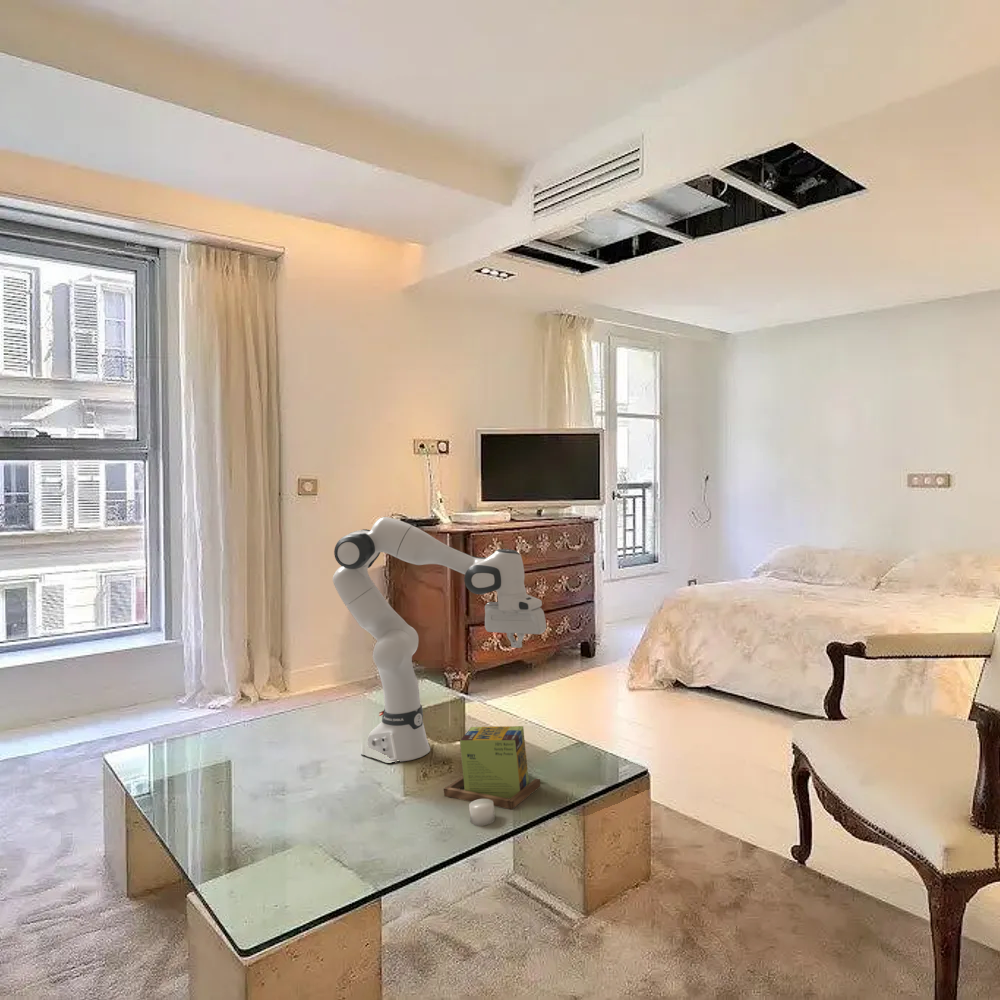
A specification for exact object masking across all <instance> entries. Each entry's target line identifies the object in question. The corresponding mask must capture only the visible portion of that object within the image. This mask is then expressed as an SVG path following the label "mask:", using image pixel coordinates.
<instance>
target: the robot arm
mask: <svg viewBox="0 0 1000 1000" xmlns="http://www.w3.org/2000/svg"><path fill="white" fill-rule="evenodd" d="M381 553H385V554H388V555H390V556H392V557H394V558H395V559H399V561H403V562H406V563H409V564H411V565H416V566H422V565H424V566H425V565H439V566H444V567H446V568H449V569H451V570H453V571H456V572H458V573H460V574H462V575H464V577H463V578H464V579H463V580H464V586H465V587H466V589H468V590H469V592H471V593H472V594H475V595H485V594H489V593H492V592H496V594H497V595H496V596H497V601H487V603H486V604H485V605H484V613H485V614H484V628H485V629H484V630H486V632H488V633H501V634H506V637H507V639H508V640H509V642H510V647H511V648H518V649H521V648H523V640H524V638H525V635H529V634H530V635H541V634H543V633H545V631H546V630H547V622H546V615H545V612H544V610H543V608H542V606H543V602H542V601H543V600H541V599H539V598H537V597H535V596H532V595H529V594H528V593H527V589H526V587H525V578H526V575H525V568H524V562H523V558H522V555H521V553H519V551H517V550H516V549H515V550H514V549H510V548H499V549H496V550H495V552H493V553H492V554H491V555H489V556H487V557H486V556H485V557H479V556H478V557H477V556H473V555H471V554H468V553H465V552H464V551H461V550H459V549H456V548H454V547H452V546H450V545H448V544H446V543H444V542H442V541H440V540H439V539H438V538H435V537H434V536H433V535H430V534H429V533H427V532H425V531H424V530H422V529H420V528H419V527H416V526H414V525H412V524H410V523H408V522H405V521H402V520H399V519H396V518H393V517H389V516H383V517H380V518H378V519H377V520H376V521H375V522H374V523H373V525H372V527H371V529H364V528H362V529H359V530H354V531H352V532H350V533H348V534H347V535H344V536H343V537H341V538H340V539H339V540H338V541H337V542H336V545H335V546H334V551H333V555H334V558H335V561H336V562H337V563H338V565H340V567H338V568H337V569H336V570H335V572H334V574H333V576H332V582H333V586H334V588H335V590H336V592H337V594H338V596H339V597H340V599H341V601H342V602H343V604H344V605H345V607H346V609H347V610H348V612H350V614H351V615H352V617H353V618H354V620H355V621H356V623H357V624H358V626H359V627H361V629H363V630H365V631H366V632H367V633H369V634H370V635H371V636H372V637H373V638H374V639H375V640H376V643H375V645H374V647H373V652H372V660H373V662H374V664H375V666H376V668H377V671H378V675H379V677H380V682H381V685H382V692H383V701H384V703H383V704H384V709H383V710H382V711H379V715H378V716H379V717H382V719H381V722H379V724H377V725H376V726H375V727H374V728H372V730H371V731H370V732H369V734H368V736H367V746H368V748H371V749H373V750H376V751H378V752H380V753H382V754H384V755H387V757H389V758H390V759H383V760H385V761H397V760H399V761H400V762H406V761H407V762H408V761H412V760H416V759H419V758H422V757H424V756H425V755H428V753H430V752H431V747H430V745H429V744H430V743H429V740H428V739H427V738H428V737H427V733H426V729H425V724H424V712H423V705H422V703H421V696H420V687H419V681H418V680H419V679H418V678H417V676H416V672H415V669H414V666H413V655H414V654H415V653H416V652H417V650H418V648H419V642H420V641H419V634H418V632H417V630H416V629H415V628H414V627H412V626H411V625H409V624H408V623H407V622H406V621H405V619H404V618H403V617H402V616H401V615H400V614H398V613H397V612H396V610H395V609H394V608H393V607H392V606H391V605H390V603H389V602H388V600H386V598H385V597H384V595H383V594H382V592H381V591H380V590H379V588H378V586H376V584H375V583H374V581H373V580H372V578H371V577H370V575H369V570H368V569H370V568H371V567H372V566H373V564H374V562H375V561H376V560H377V559H378V558H379V556H380V554H381ZM515 634H516V636H517V638H518V639H517V640H516V639H515V636H514V635H515ZM384 758H385V757H384Z"/></svg>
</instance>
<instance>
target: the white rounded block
mask: <svg viewBox="0 0 1000 1000" xmlns="http://www.w3.org/2000/svg"><path fill="white" fill-rule="evenodd" d="M468 809H469V818H470V819H469V820H470V824H472V825H474V826H477V827H478V826H479V827H482V825H484V826H488V825H491V824H492V823H493V822H495V820H496V818H495V817H496V814H495V806H494V803H493V801H492V800H490V799H477V800H474V801H470V803H469V804H468ZM487 824H488V825H487Z"/></svg>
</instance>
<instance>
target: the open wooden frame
mask: <svg viewBox="0 0 1000 1000" xmlns="http://www.w3.org/2000/svg"><path fill="white" fill-rule="evenodd" d="M463 787H464V779H463V775H461V776H460V777H459V778H457V779H456V780H455V781H453V782H451V783H450V784H448V785H447V786H445V787H444V788H443V795H444V797H448V798H453V799H459V800H464V801H468V802H472V801H474V800H477V799H490V800H492V801H493V803H494V807H497V808H503V809H508V810H514V809H515V808H516V807H517V806H519V805H520V804H521V803H522V802H524V800H526V799H527V798H528V797H530V794H531V793H532V792H533V793H535V790H536V789H537V790H538V789H539V788H541V779H540V778H534V779H533V780H532V781H531V782H528V784H527V786H526V787H524V788H523V789H522V790H521V791H519V792H518V793H517V794H515V795H514V796H513V797H512V798H503V797H497V796H492V795H487V794H482V793H476V792H471V791H466V790H464V789H461V788H463ZM537 790H536V791H537ZM533 793H532V794H533ZM532 794H531V795H532ZM527 796H528V797H527Z"/></svg>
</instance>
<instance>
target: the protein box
mask: <svg viewBox="0 0 1000 1000" xmlns="http://www.w3.org/2000/svg"><path fill="white" fill-rule="evenodd" d="M525 741H526V740H525V733H524V725H515V726H510V725H509V726H505V725H504V726H501V725H500V726H471V727H469V729H468V730H467V731H466V733H465V734H464V735H463V737H462V738H461V739H460V740H459V743H460V745H459V746H460V747H459V748H460V758H461V766H462V776H463V779H464V786H463V787H464V789H463V790H466V791H471V792H476V793H482V794H487V795H492V796H497V797H503V798H508V799H510V798H512V797H513V796H514V795H515V794H517V793H518V792H519V791H521V790H522V789H523V788H524V787H526V786H527V785H528V784H529V783H530V781H529V770H528V761H527V751H526V742H525Z"/></svg>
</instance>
